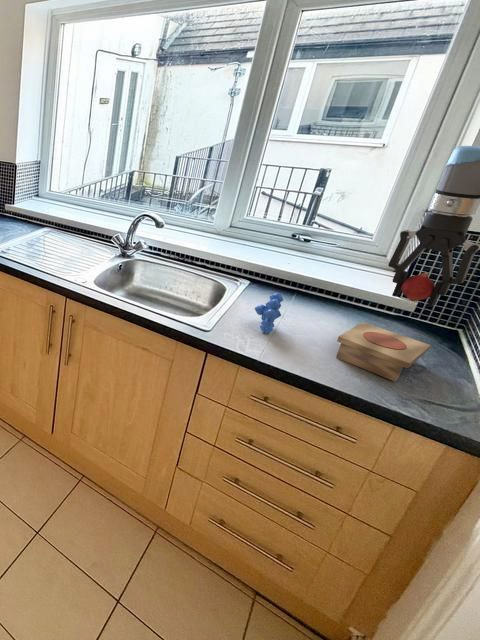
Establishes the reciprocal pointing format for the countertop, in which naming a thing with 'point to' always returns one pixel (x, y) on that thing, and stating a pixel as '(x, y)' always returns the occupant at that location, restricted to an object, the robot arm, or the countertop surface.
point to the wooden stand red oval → (379, 350)
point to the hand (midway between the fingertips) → (412, 299)
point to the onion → (418, 287)
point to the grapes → (269, 312)
